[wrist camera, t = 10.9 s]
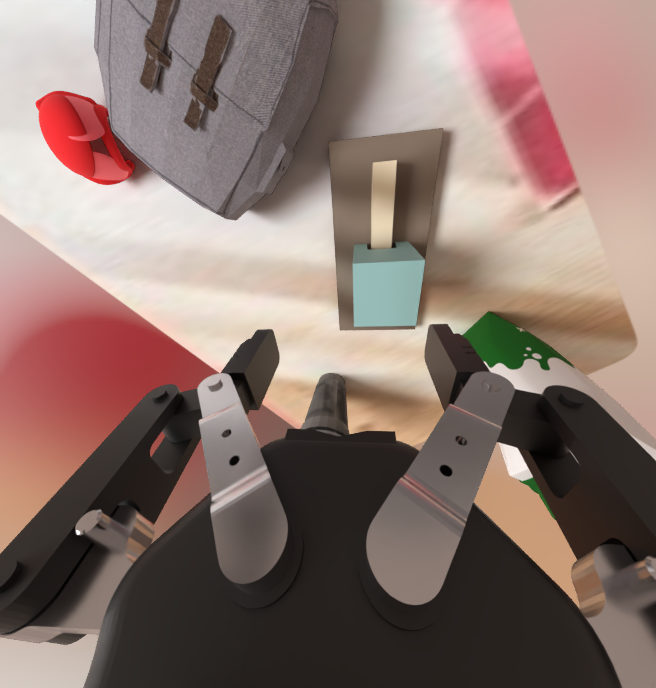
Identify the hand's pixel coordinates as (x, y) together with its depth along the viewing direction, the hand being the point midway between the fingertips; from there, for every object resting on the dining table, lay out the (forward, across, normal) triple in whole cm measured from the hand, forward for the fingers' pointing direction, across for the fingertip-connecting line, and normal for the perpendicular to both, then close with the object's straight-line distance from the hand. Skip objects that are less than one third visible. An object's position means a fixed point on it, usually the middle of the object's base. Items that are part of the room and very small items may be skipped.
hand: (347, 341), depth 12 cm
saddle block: (+18, -3, +2) cm, 18 cm away
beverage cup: (+19, +4, +21) cm, 28 cm away
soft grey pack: (+20, +10, -15) cm, 27 cm away
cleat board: (+19, -3, 0) cm, 19 cm away
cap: (+20, +25, -12) cm, 34 cm away
